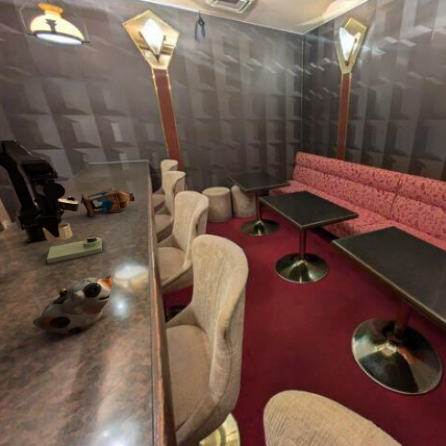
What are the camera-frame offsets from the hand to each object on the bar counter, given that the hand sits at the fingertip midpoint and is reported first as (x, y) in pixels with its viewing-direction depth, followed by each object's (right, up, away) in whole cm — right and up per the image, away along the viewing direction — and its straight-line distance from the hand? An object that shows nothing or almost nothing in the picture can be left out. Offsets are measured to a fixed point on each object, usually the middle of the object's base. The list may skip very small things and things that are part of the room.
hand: (58, 233), depth 95 cm
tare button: (+7, -4, +7) cm, 11 cm away
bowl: (0, -2, +1) cm, 2 cm away
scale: (+2, -8, +5) cm, 10 cm away
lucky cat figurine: (+34, -22, -28) cm, 49 cm away
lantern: (-18, +11, +51) cm, 56 cm away
